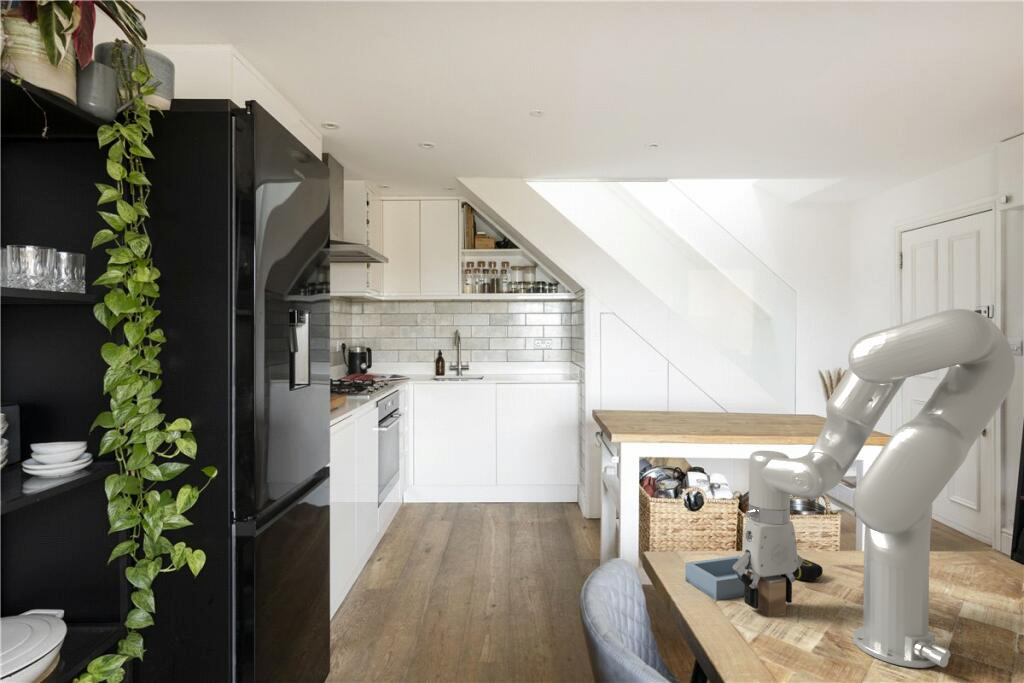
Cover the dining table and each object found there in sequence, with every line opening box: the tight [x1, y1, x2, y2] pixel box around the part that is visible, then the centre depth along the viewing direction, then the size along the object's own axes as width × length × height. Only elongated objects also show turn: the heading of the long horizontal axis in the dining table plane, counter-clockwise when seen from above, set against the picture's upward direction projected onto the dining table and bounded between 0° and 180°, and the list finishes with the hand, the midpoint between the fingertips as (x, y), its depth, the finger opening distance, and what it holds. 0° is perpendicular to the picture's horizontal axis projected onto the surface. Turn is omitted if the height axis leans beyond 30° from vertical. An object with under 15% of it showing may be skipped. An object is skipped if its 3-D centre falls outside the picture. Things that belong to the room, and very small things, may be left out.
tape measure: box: [795, 558, 823, 581], centre depth 134 cm, size 7×7×4 cm
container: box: [685, 555, 751, 601], centre depth 128 cm, size 10×14×4 cm
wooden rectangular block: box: [751, 573, 787, 618], centre depth 117 cm, size 5×4×7 cm
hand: (768, 602), depth 117 cm, fingers open, 7 cm apart
